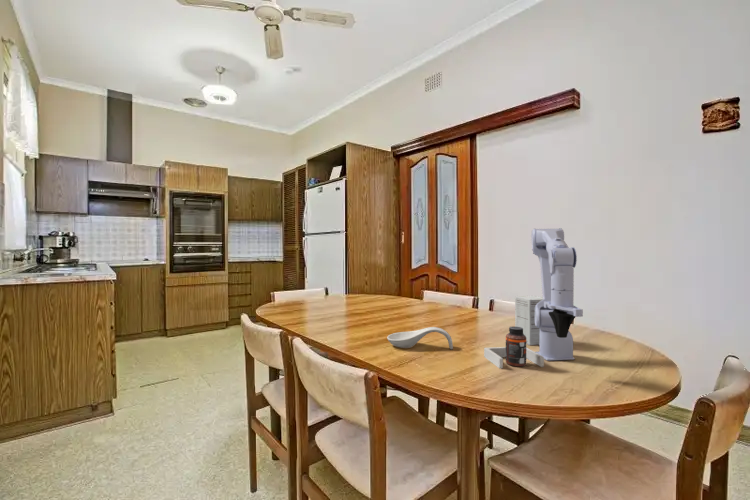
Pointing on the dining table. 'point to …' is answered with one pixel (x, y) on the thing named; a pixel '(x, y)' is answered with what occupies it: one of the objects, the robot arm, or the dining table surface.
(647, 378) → the dining table surface
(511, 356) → the supplement bottle
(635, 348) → the dining table surface
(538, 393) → the dining table surface
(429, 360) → the dining table surface
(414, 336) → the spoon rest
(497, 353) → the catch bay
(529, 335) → the supplement box
